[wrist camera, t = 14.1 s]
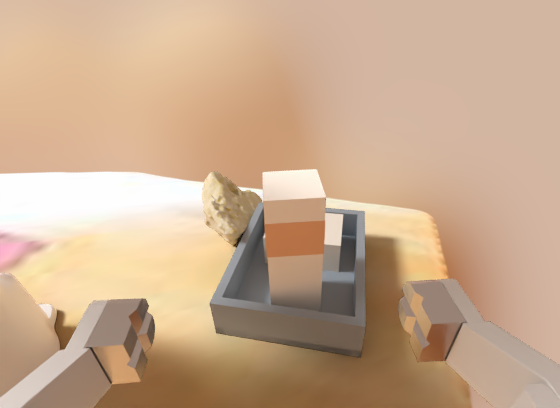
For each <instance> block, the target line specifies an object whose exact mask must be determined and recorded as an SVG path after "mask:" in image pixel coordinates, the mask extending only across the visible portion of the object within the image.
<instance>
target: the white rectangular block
mask: <svg viewBox="0 0 560 408" xmlns="http://www.w3.org/2000/svg"><path fill="white" fill-rule="evenodd" d="M342 224H343V214H333V213H325V240H324V254H323V269H322V270H325V271H333V272H339V260H340V248H341V236H342ZM263 244H264V256H265V263H267V264H268V259H267V253H266V240H265V234H264V236H263Z"/></svg>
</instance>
